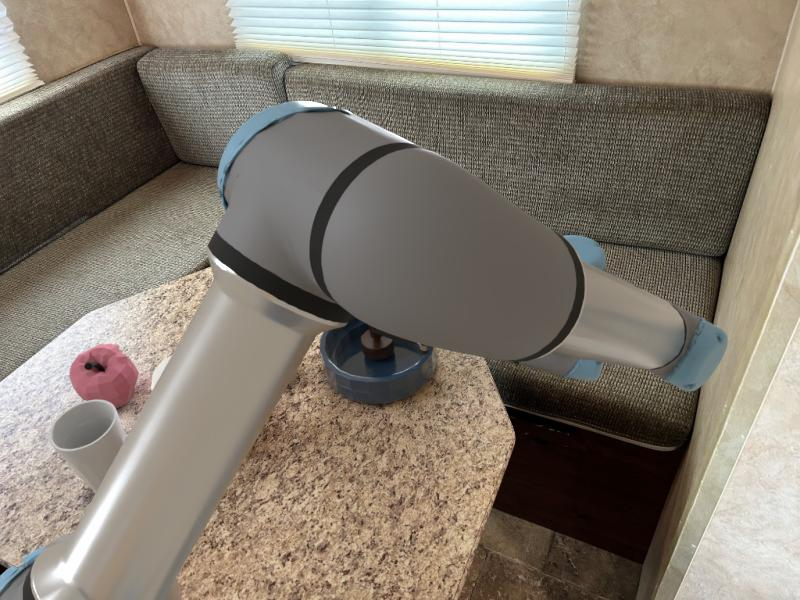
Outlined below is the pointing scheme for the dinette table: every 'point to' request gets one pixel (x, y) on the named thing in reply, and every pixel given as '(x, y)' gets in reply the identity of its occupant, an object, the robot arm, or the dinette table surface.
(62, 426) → the cup
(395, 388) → the bowl
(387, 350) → the wooden stamp handle
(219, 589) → the dinette table surface
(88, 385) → the apple
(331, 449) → the dinette table surface
